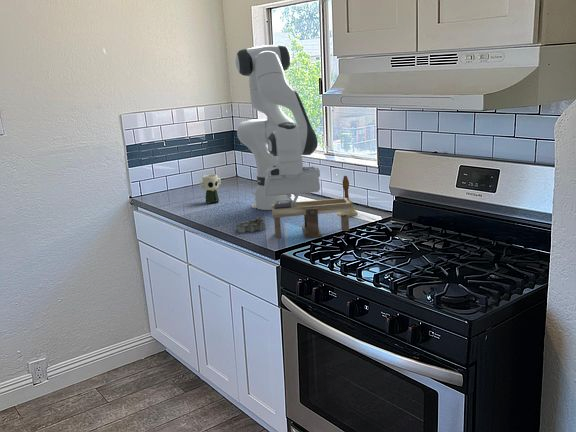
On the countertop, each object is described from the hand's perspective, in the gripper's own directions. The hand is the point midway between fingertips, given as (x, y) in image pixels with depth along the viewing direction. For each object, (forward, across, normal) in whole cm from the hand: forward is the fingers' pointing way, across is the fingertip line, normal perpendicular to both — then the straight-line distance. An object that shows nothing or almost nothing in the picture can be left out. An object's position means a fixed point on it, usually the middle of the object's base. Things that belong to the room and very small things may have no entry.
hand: (293, 205), depth 214 cm
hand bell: (+11, -24, -23) cm, 34 cm away
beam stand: (+11, -6, 0) cm, 12 cm away
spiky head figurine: (+10, +34, -66) cm, 75 cm away
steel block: (+2, +4, 0) cm, 4 cm away
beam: (+2, -6, 0) cm, 6 cm away
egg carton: (+11, +16, -12) cm, 23 cm away
